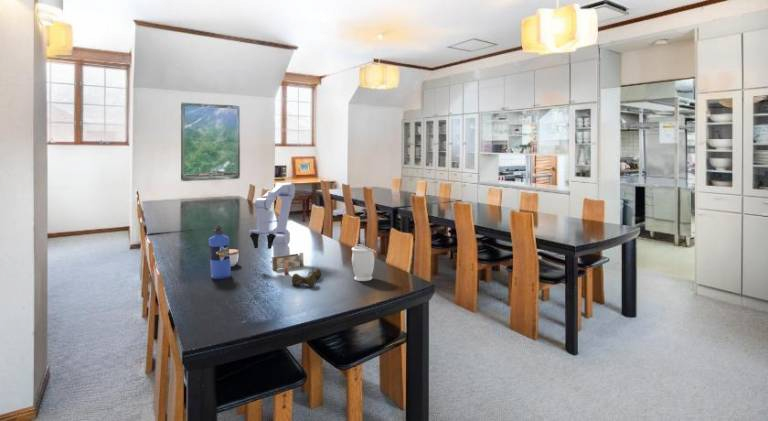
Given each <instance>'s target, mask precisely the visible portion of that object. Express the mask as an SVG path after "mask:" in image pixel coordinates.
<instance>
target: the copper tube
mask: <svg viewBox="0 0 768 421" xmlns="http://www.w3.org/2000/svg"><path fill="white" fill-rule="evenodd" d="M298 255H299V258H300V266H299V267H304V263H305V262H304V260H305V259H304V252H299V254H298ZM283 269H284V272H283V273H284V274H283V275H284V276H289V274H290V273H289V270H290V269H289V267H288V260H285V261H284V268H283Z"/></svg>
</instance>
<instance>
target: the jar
mask: <svg viewBox="0 0 768 421" xmlns="http://www.w3.org/2000/svg"><path fill="white" fill-rule="evenodd" d="M351 251H352V254H351V264H352V271H353V274H354V280H355V281H357V282H358V281H359V282H368V281H371V280H372V279H373V276H372V275H373V274H374V268H375V254H374V253H375V252H374V251H373V250H370V249H367V248H365V247H364V246H362V245H357V246H353V247H351Z"/></svg>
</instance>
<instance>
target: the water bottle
mask: <svg viewBox="0 0 768 421" xmlns="http://www.w3.org/2000/svg"><path fill="white" fill-rule="evenodd" d="M213 229H214V230H213V234H214V235H213V236H211V237H209V238H208V246H209V252H210V259H209V261H210V262H209V264H210V278H211V279H213V280H221V279H222V280H223V279H227V278H230V277H232V272H231V271H232V270H231V269H232V267H230V256H229V249H230V237H229V236H228V235H226V234H224V230H223V227H222V226H221V225H219V224H218V225H217V224H216V225H215V227H214V228H213Z"/></svg>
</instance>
